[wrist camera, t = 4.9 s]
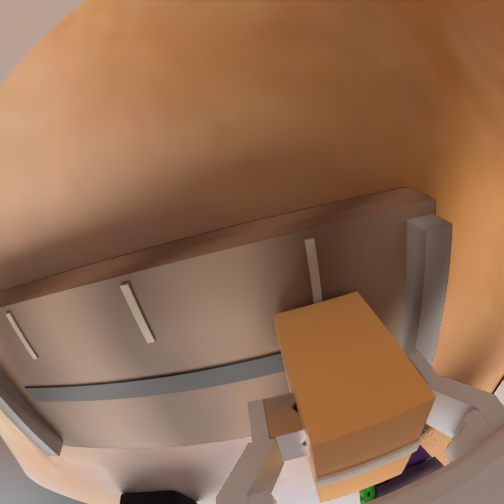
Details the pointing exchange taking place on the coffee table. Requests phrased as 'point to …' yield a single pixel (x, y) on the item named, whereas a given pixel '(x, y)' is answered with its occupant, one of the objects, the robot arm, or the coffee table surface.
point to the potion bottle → (404, 475)
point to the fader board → (209, 321)
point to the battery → (155, 498)
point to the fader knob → (351, 394)
